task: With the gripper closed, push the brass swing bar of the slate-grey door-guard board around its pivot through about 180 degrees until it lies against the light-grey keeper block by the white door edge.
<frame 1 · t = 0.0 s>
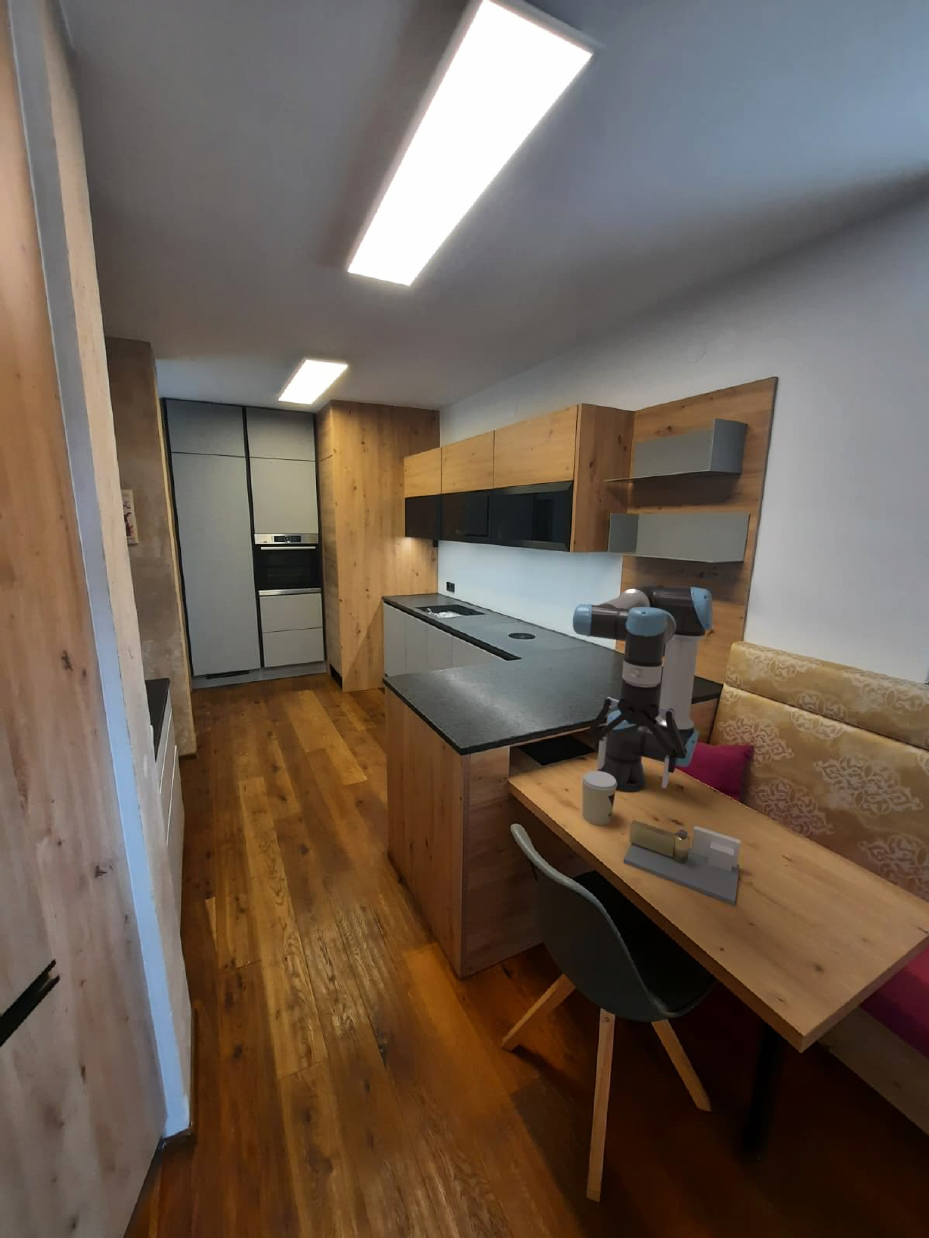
hand: (631, 775, 104), 28 cm above the table, fingers open, 13 cm apart
swing bar: (659, 839, 120), point 4 cm above the table, hinge at -90.0°
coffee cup: (596, 817, 136), on the table
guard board: (680, 865, 117), on the table
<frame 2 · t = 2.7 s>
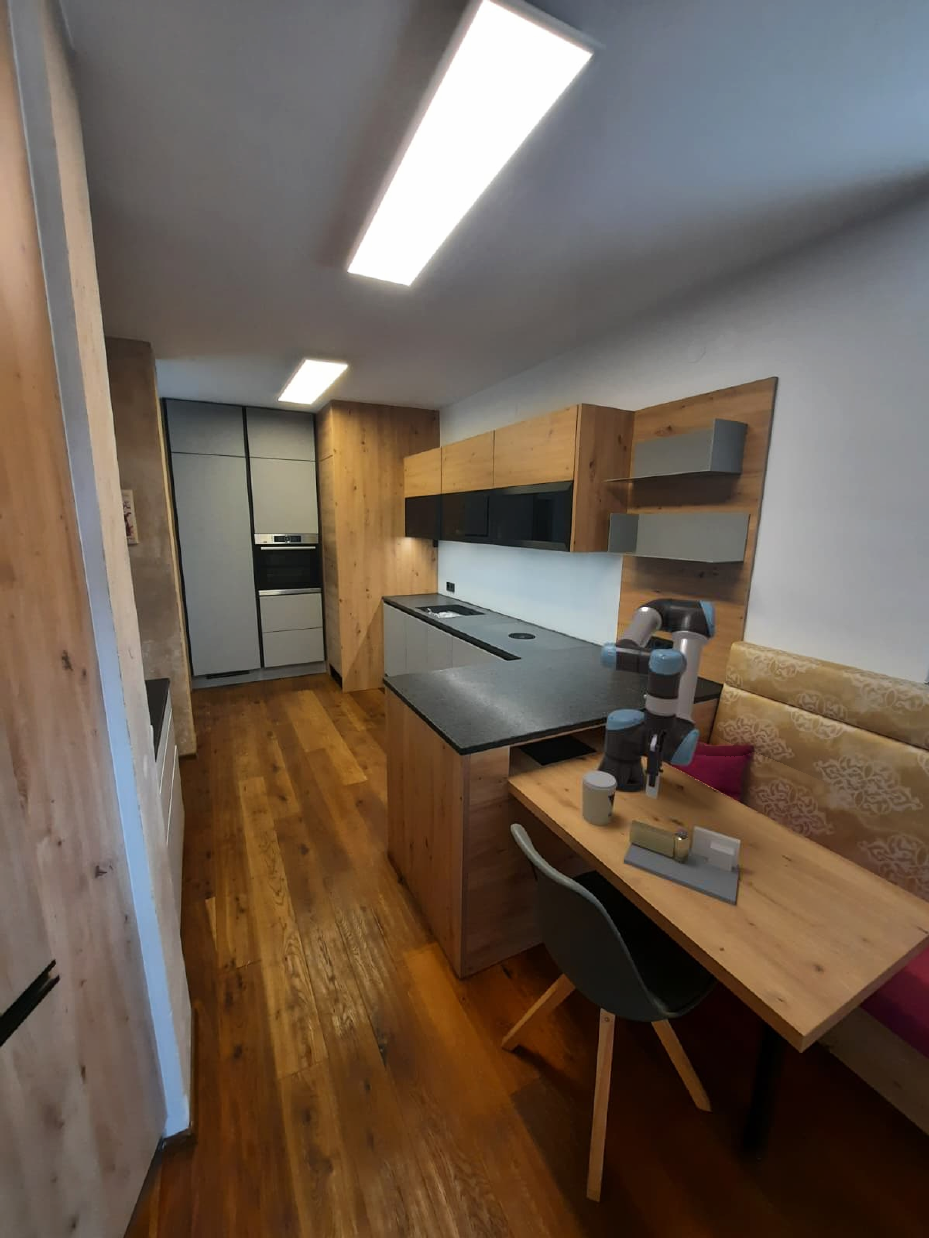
hand: (651, 795, 126), 12 cm above the table, fingers closed
nothing on the table moved.
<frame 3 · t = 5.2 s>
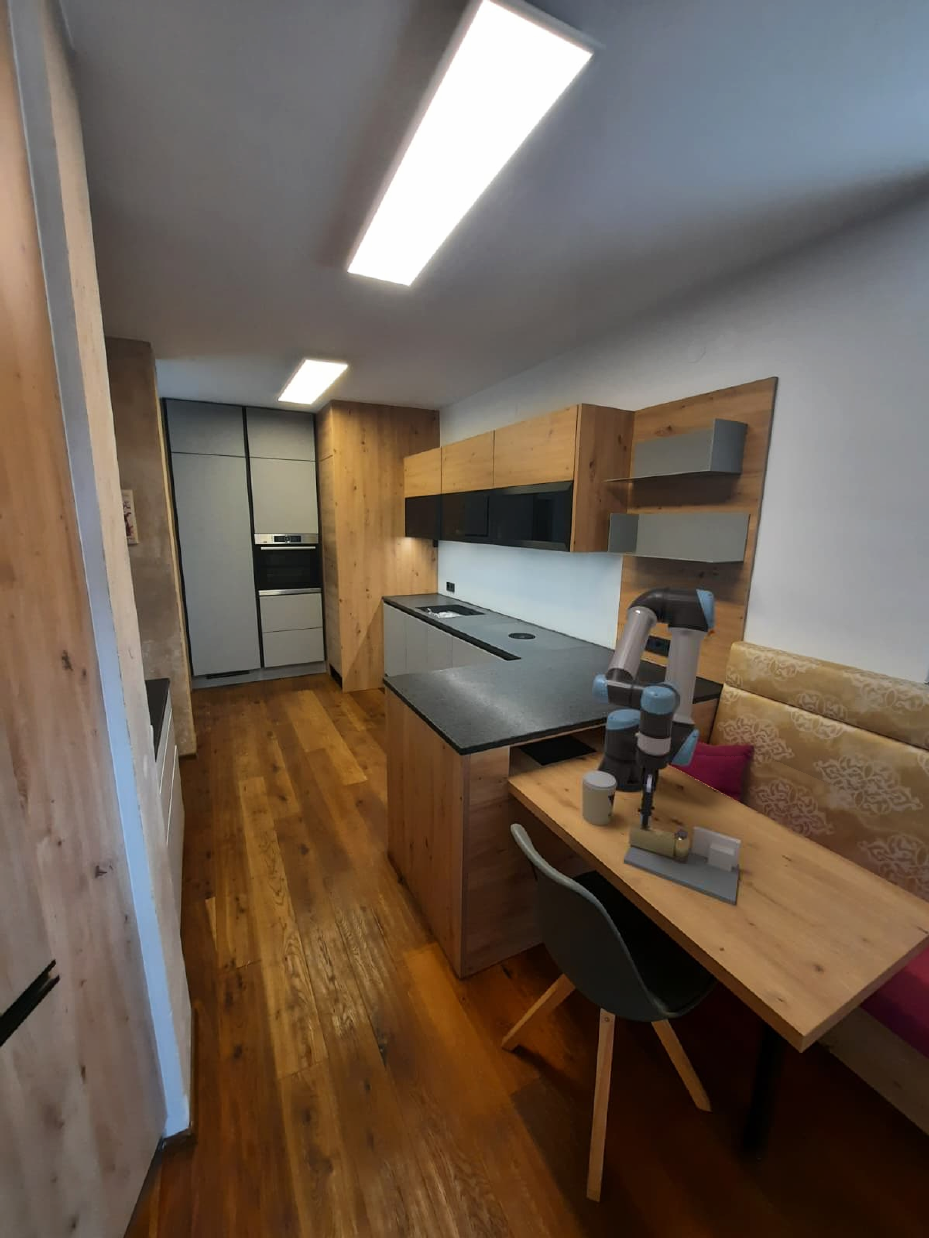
hand: (643, 833, 123), 4 cm above the table, fingers closed
swing bar: (659, 840, 120), point 4 cm above the table, hinge at -85.4°, touching gripper
everything else where it was.
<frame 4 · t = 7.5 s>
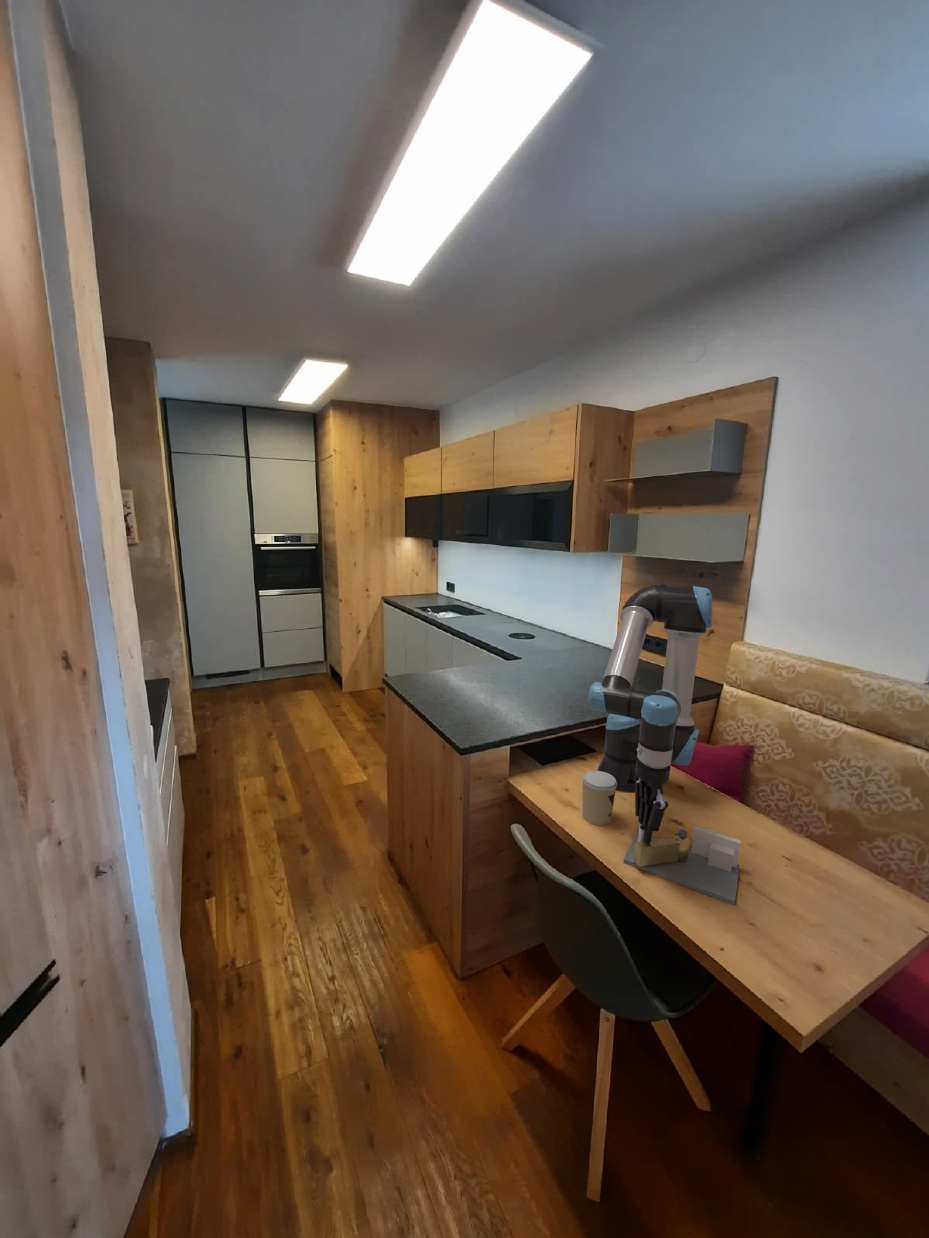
hand: (643, 849, 117), 3 cm above the table, fingers closed
swing bar: (662, 849, 116), point 4 cm above the table, hinge at -44.4°, touching gripper
everything else where it was.
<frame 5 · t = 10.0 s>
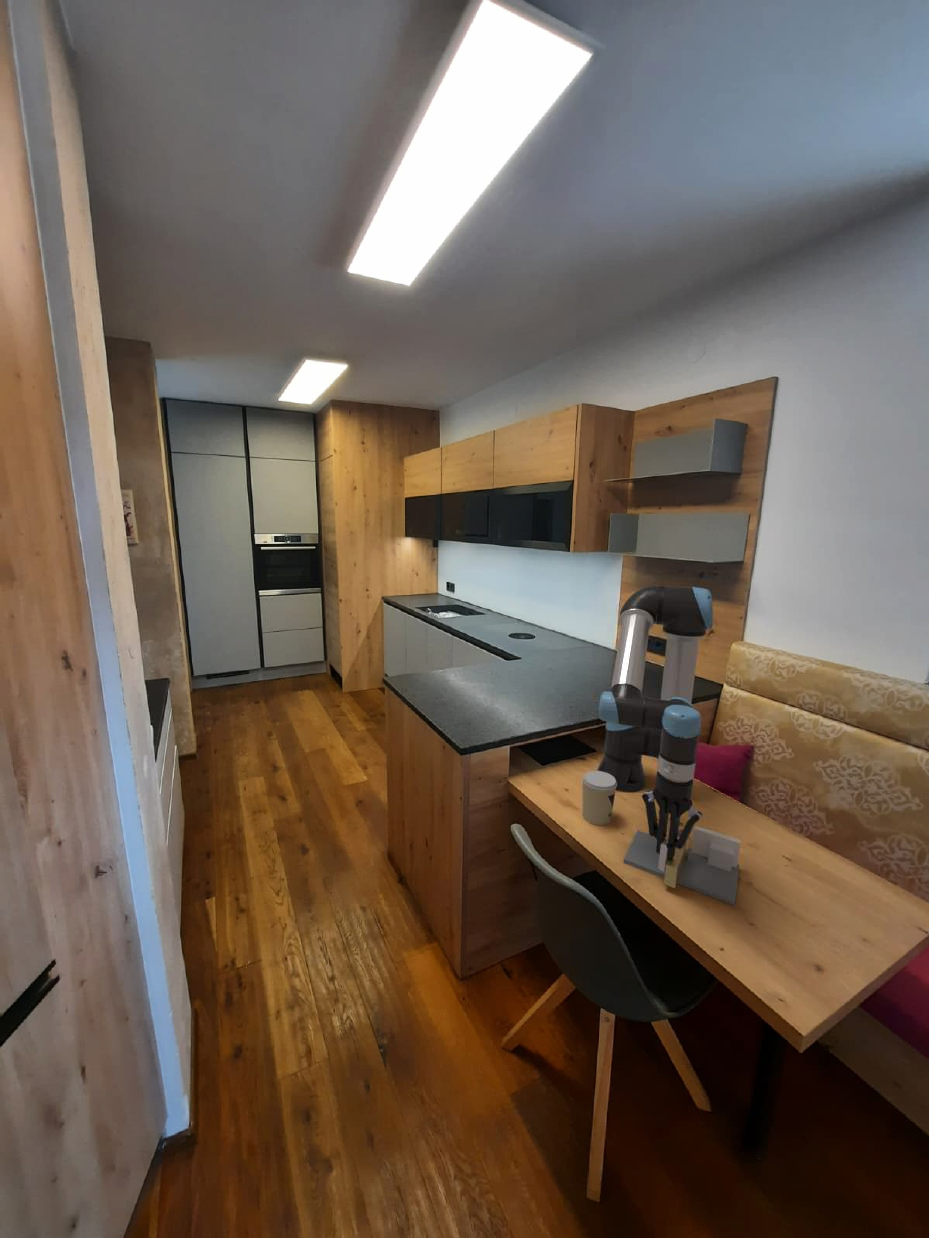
hand: (663, 867, 111), 3 cm above the table, fingers closed
swing bar: (676, 858, 113), point 4 cm above the table, hinge at -1.7°, touching gripper
everything else where it was.
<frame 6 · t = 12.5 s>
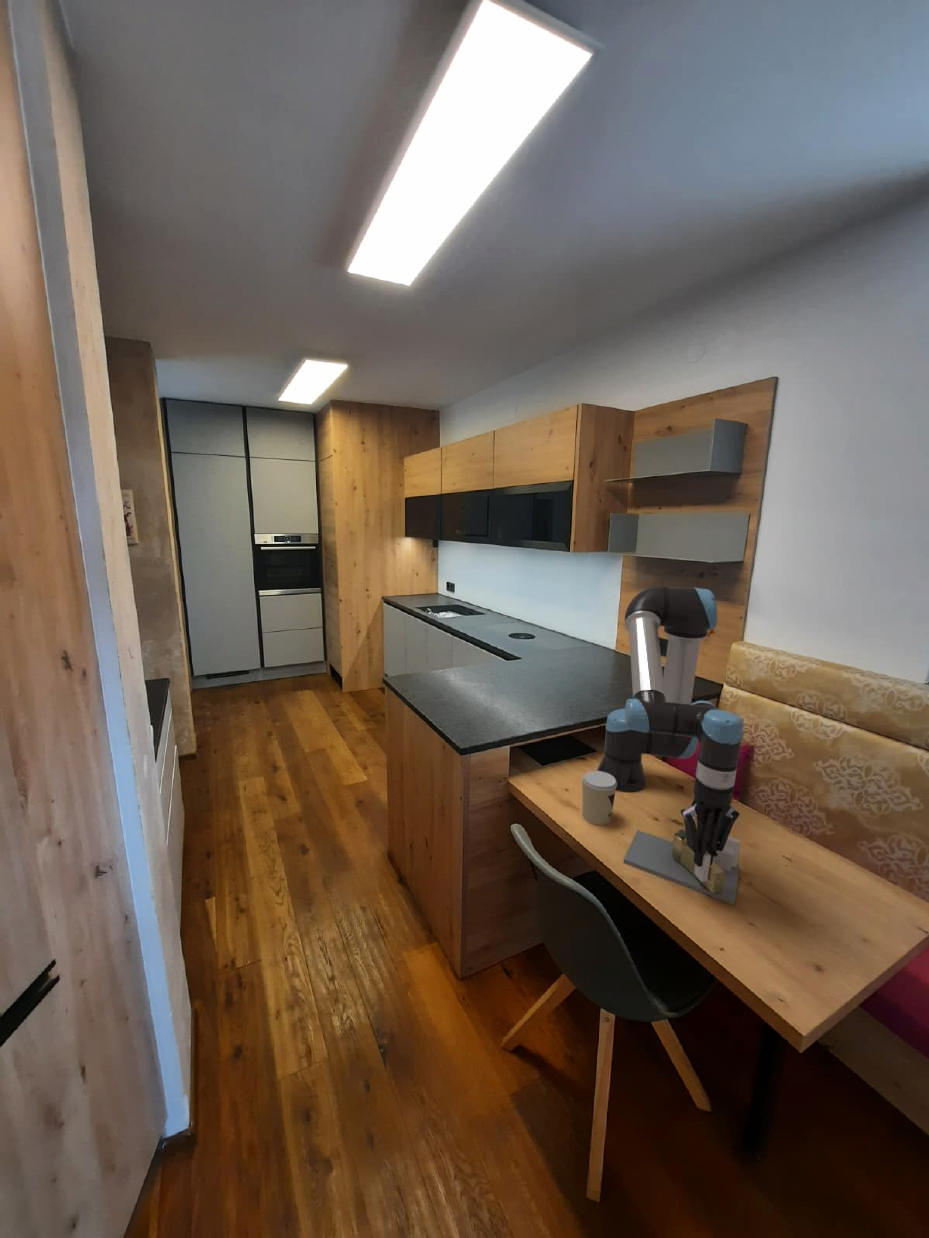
hand: (700, 877, 108), 3 cm above the table, fingers closed
swing bar: (696, 860, 112), point 4 cm above the table, hinge at 48.4°, touching gripper
everything else where it was.
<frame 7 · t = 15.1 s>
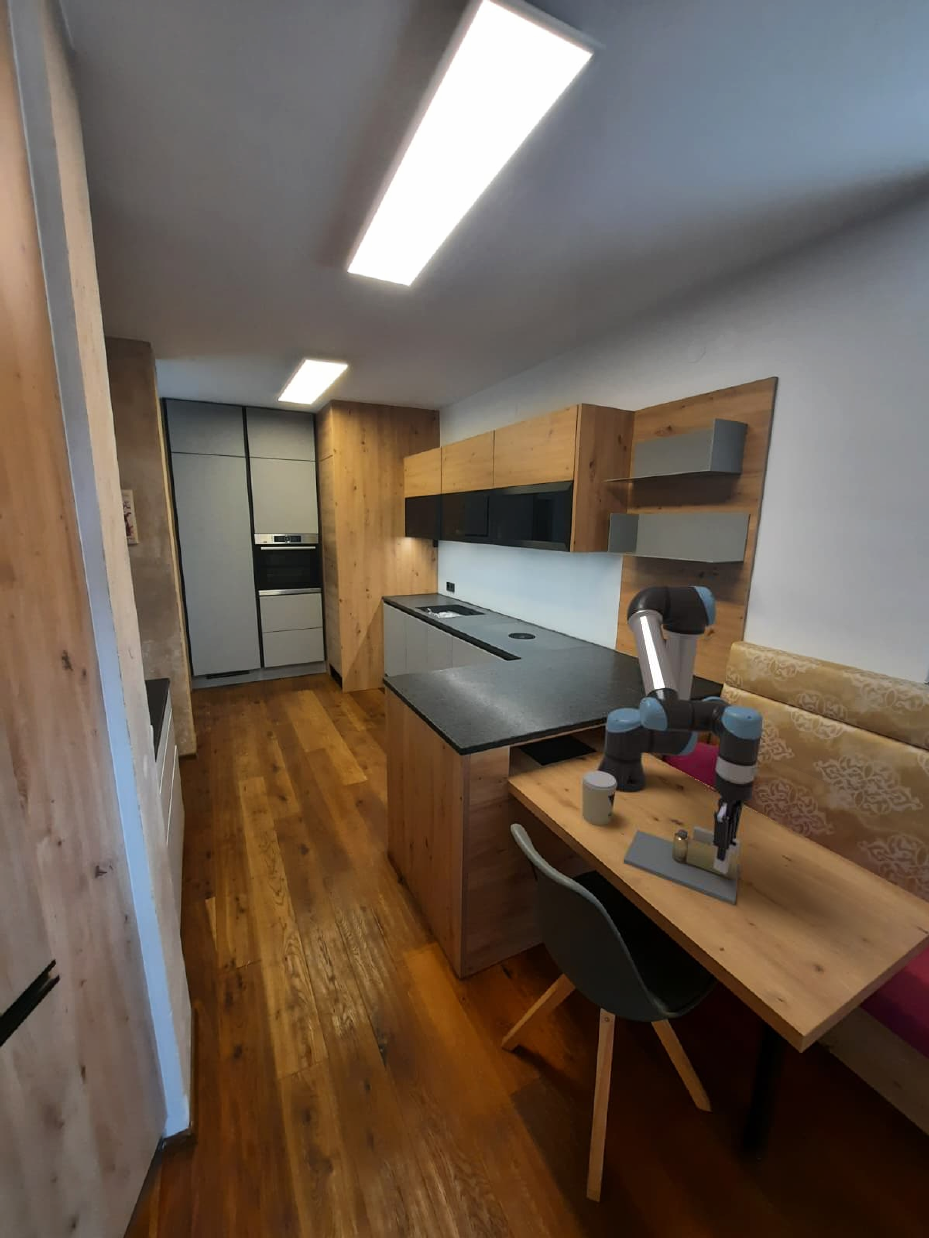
hand: (720, 869, 111), 3 cm above the table, fingers closed
swing bar: (704, 855, 115), point 4 cm above the table, hinge at 89.7°, touching gripper
everything else where it was.
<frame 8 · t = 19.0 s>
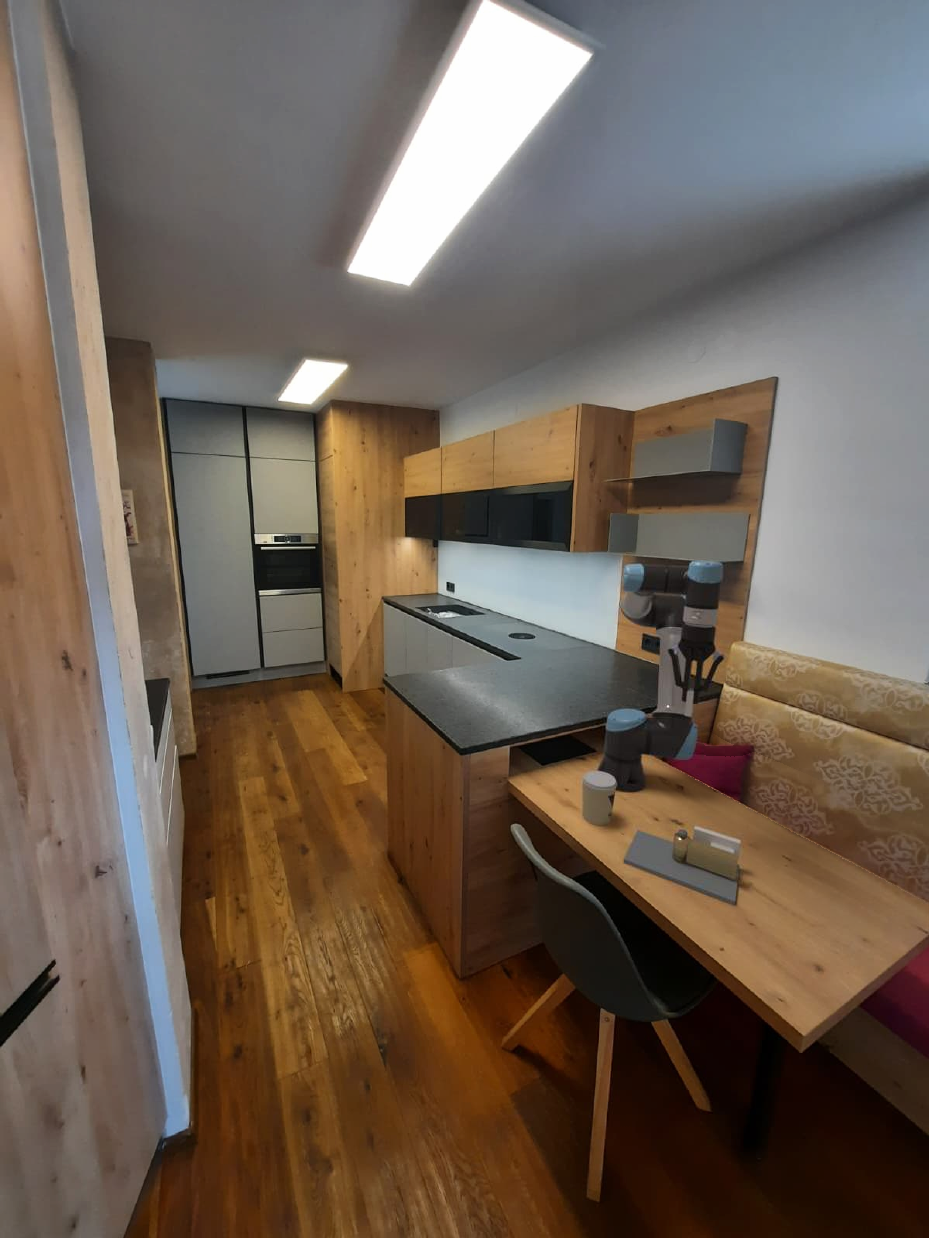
hand: (688, 714, 122), 34 cm above the table, fingers closed
swing bar: (704, 855, 115), point 4 cm above the table, hinge at 89.7°
everything else where it was.
at the end: swing bar at +90° (first picture: -90°); the gripper is holding nothing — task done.
